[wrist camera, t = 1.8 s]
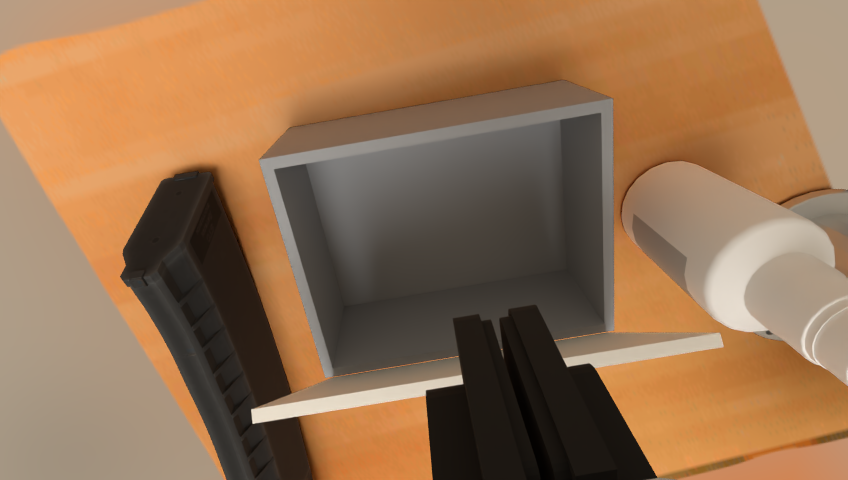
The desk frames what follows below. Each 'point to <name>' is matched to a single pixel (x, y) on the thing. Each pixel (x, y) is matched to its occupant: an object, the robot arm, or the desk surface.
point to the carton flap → (448, 373)
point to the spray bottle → (743, 259)
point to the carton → (448, 221)
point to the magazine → (214, 326)
